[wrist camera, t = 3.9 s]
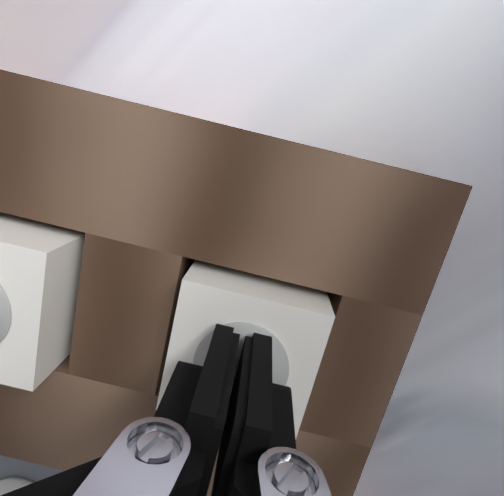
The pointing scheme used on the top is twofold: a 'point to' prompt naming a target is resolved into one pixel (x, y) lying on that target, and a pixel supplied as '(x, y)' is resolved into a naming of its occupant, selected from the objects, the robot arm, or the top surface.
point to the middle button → (36, 298)
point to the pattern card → (21, 473)
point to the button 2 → (252, 324)
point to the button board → (211, 261)
